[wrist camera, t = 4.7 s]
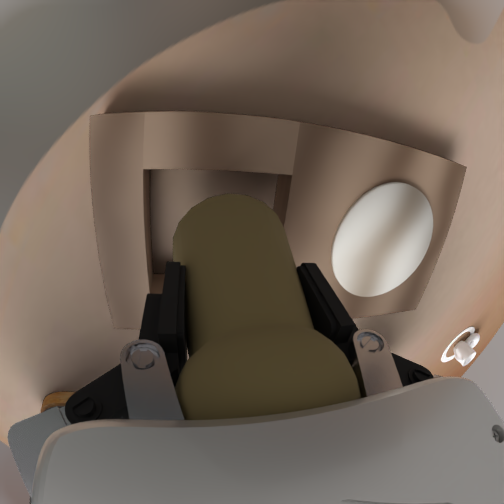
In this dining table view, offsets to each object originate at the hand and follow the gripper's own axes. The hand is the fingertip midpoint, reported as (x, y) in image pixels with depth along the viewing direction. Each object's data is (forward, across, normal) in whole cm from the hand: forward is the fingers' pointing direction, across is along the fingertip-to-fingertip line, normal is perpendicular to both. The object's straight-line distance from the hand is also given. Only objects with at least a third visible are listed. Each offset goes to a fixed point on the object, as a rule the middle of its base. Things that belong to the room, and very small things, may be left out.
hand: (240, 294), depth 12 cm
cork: (+4, 0, 0) cm, 4 cm away
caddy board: (+8, -5, 0) cm, 10 cm away
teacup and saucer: (+9, -41, +22) cm, 48 cm away
